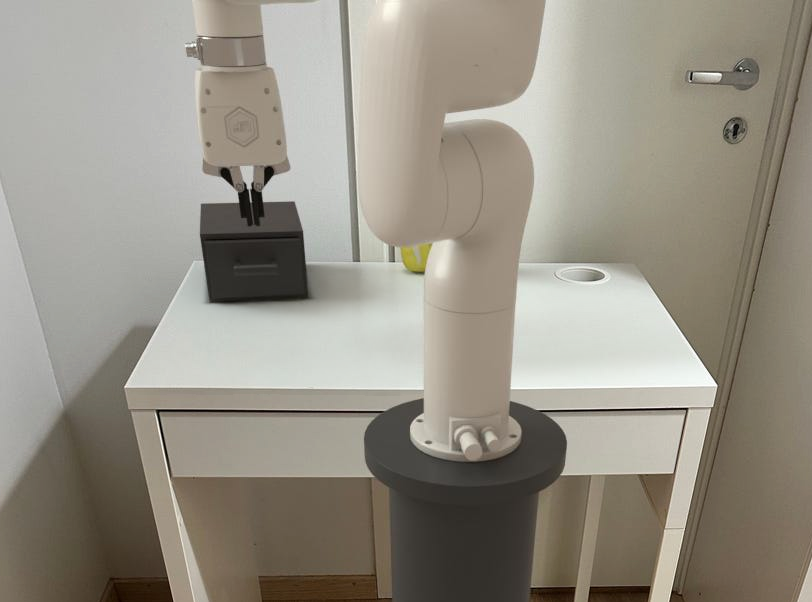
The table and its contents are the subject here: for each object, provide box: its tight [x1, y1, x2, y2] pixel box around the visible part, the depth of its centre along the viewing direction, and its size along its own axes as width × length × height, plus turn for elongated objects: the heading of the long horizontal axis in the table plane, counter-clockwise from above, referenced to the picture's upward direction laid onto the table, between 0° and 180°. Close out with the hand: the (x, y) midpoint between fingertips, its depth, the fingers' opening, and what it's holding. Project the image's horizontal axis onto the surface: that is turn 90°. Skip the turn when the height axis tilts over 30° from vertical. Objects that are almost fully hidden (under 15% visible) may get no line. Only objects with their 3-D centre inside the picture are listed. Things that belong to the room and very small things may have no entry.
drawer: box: [205, 237, 305, 298], centre depth 137 cm, size 21×13×8 cm, turn 12°
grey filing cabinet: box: [199, 200, 309, 303], centre depth 140 cm, size 18×15×10 cm
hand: (253, 223), depth 117 cm, fingers closed
